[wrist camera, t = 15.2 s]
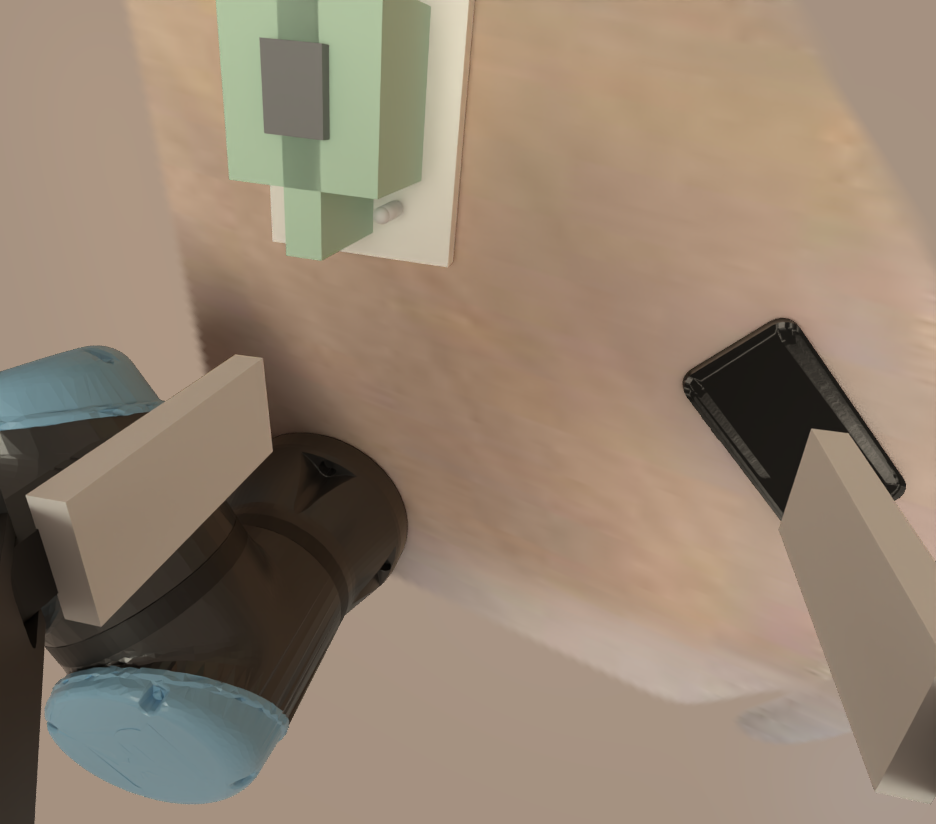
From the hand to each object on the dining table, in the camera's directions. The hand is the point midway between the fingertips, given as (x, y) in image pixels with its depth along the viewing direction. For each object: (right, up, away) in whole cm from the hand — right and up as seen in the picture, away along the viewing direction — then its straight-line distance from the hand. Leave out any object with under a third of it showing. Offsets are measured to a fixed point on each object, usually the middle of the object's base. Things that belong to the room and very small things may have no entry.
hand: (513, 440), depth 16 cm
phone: (+20, 0, +27) cm, 34 cm away
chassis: (-7, +20, +23) cm, 31 cm away
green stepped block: (-7, +19, +22) cm, 30 cm away
